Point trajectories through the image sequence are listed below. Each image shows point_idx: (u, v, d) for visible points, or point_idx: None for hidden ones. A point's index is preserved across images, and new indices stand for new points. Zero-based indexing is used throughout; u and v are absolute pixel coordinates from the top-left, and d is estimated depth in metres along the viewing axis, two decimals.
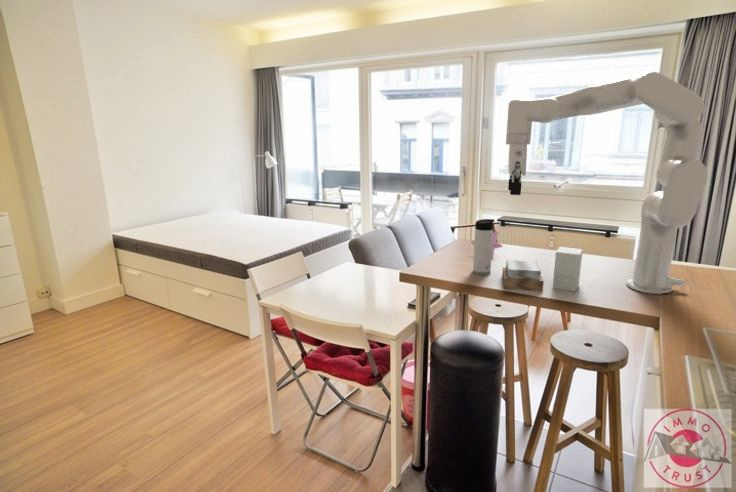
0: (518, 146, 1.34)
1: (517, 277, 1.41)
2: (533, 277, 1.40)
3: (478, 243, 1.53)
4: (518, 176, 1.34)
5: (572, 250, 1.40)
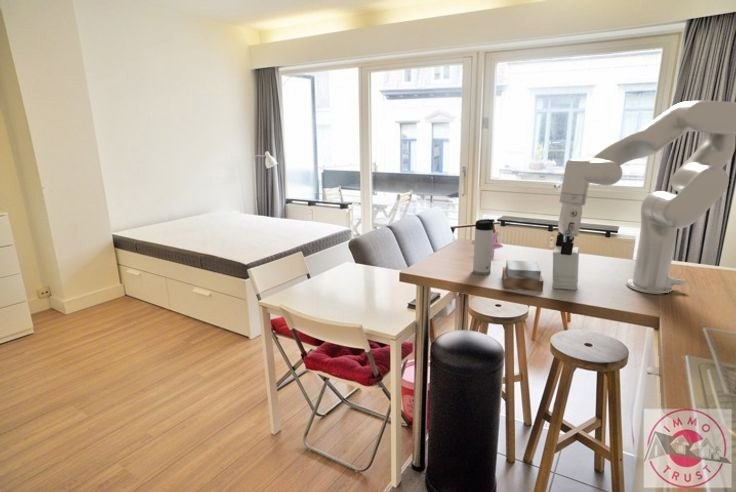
0: (573, 207, 1.32)
1: (517, 277, 1.41)
2: (533, 277, 1.40)
3: (478, 243, 1.53)
4: (572, 237, 1.31)
5: None
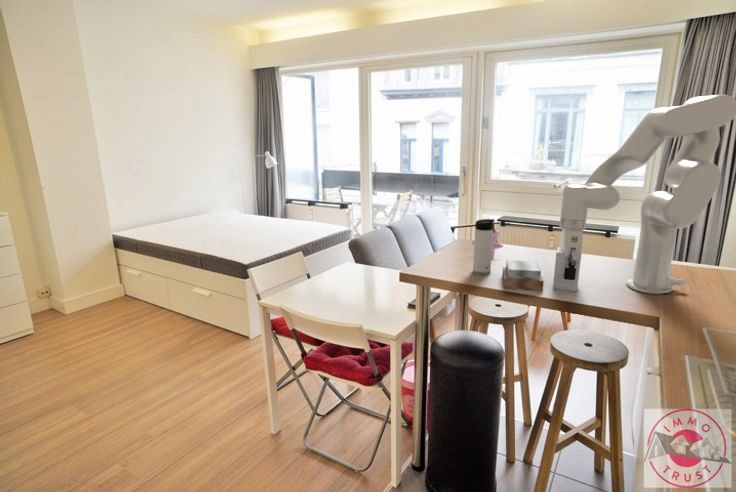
0: (574, 232, 1.34)
1: (517, 277, 1.41)
2: (533, 277, 1.40)
3: (478, 243, 1.53)
4: (574, 264, 1.33)
5: None
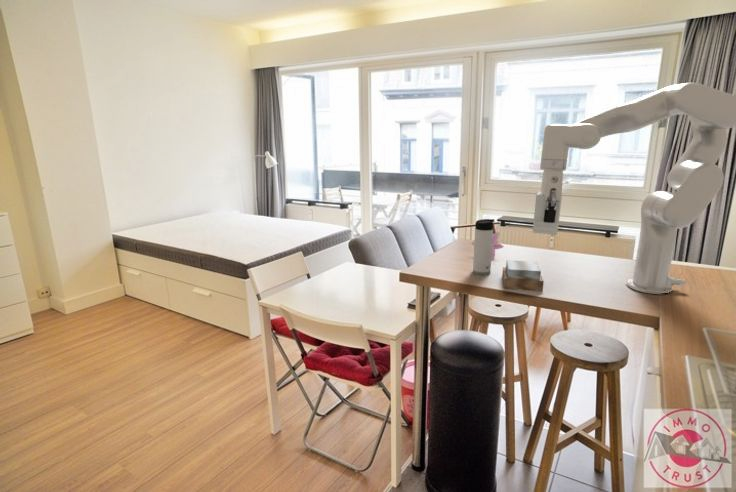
0: (554, 172, 1.30)
1: (517, 277, 1.41)
2: (533, 277, 1.40)
3: (478, 243, 1.53)
4: (553, 204, 1.30)
5: None
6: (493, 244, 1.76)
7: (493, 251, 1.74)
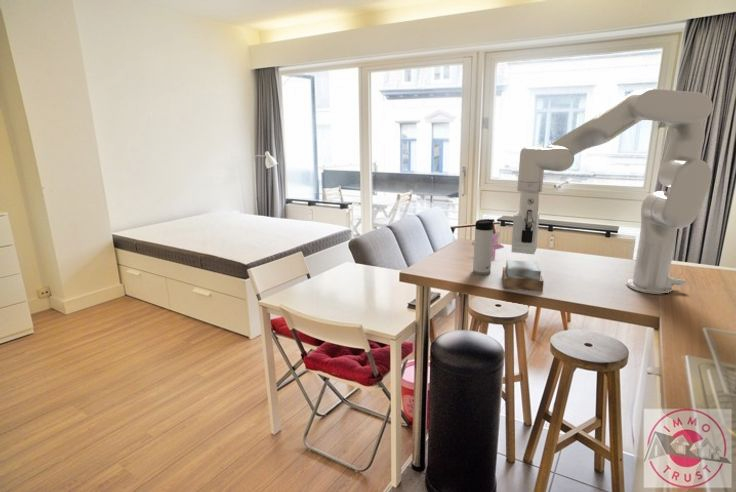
0: (530, 194, 1.34)
1: (517, 277, 1.41)
2: (533, 277, 1.40)
3: (478, 243, 1.53)
4: (530, 226, 1.34)
5: None
6: (493, 244, 1.76)
7: (493, 251, 1.74)
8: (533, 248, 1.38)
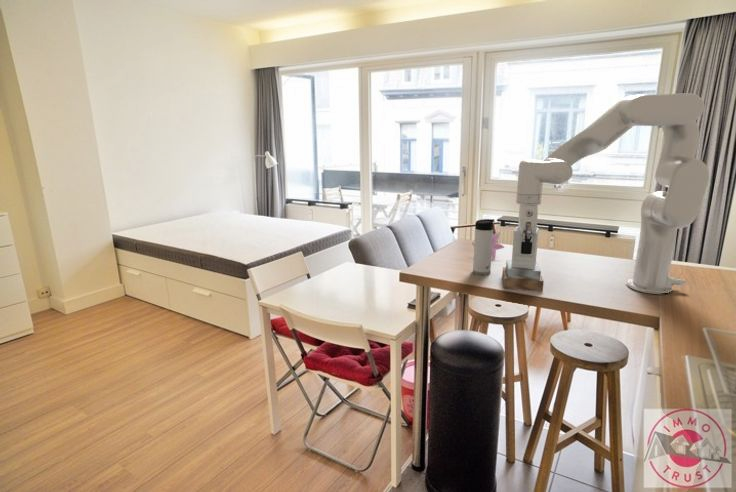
0: (529, 207, 1.35)
1: (517, 277, 1.41)
2: (533, 277, 1.40)
3: (478, 243, 1.53)
4: (529, 237, 1.34)
5: None
6: (493, 244, 1.75)
7: (494, 251, 1.73)
8: (533, 263, 1.40)
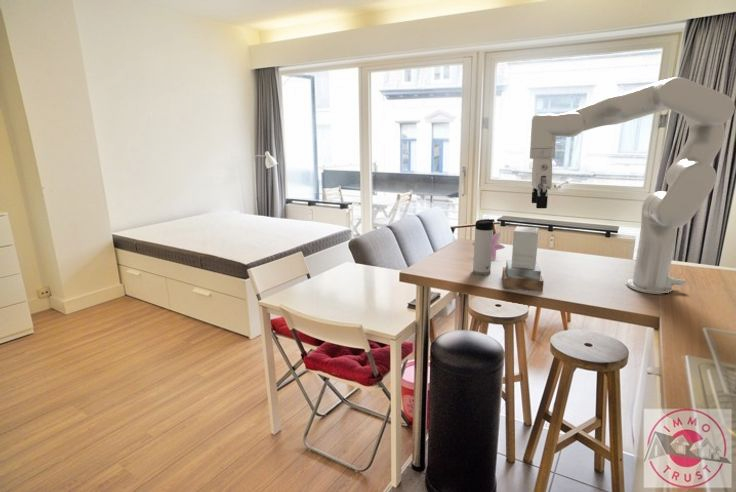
0: (543, 160, 1.36)
1: (517, 277, 1.41)
2: (533, 277, 1.40)
3: (479, 243, 1.53)
4: (545, 190, 1.35)
5: (529, 229, 1.41)
6: (494, 245, 1.75)
7: (494, 252, 1.73)
8: (533, 263, 1.40)
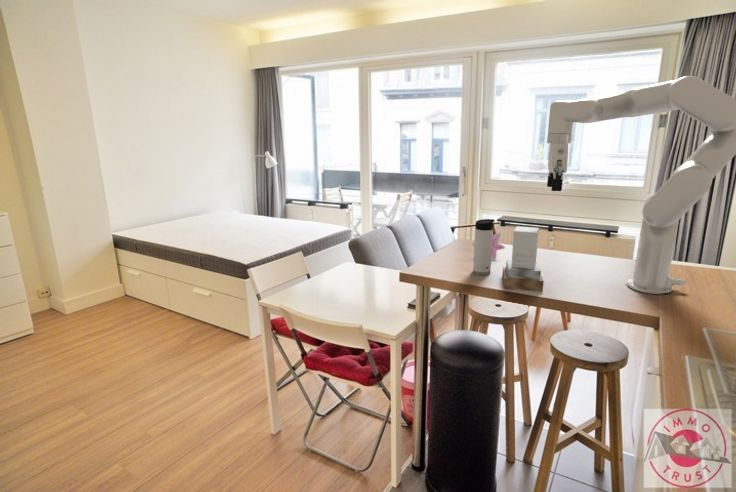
0: (560, 145, 1.42)
1: (517, 277, 1.41)
2: (533, 277, 1.40)
3: (478, 243, 1.53)
4: (560, 173, 1.42)
5: (529, 229, 1.41)
6: (494, 245, 1.75)
7: (494, 252, 1.73)
8: (533, 263, 1.40)
